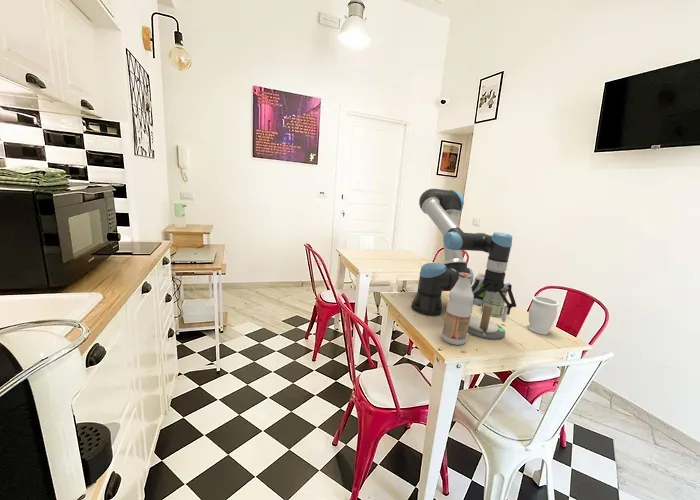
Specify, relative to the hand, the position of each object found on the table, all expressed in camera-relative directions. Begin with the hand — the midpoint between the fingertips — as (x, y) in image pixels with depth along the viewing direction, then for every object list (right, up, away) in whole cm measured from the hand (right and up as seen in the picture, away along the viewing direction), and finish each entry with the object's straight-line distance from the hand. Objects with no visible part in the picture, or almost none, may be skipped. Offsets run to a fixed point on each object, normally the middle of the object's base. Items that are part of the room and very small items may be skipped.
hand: (486, 318), depth 131 cm
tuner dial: (0, -5, +6) cm, 8 cm away
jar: (+29, -9, +12) cm, 33 cm away
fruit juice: (-16, -8, -6) cm, 19 cm away
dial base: (+1, -6, +7) cm, 9 cm away
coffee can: (+15, -4, +28) cm, 32 cm away
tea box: (+16, 0, +43) cm, 46 cm away
